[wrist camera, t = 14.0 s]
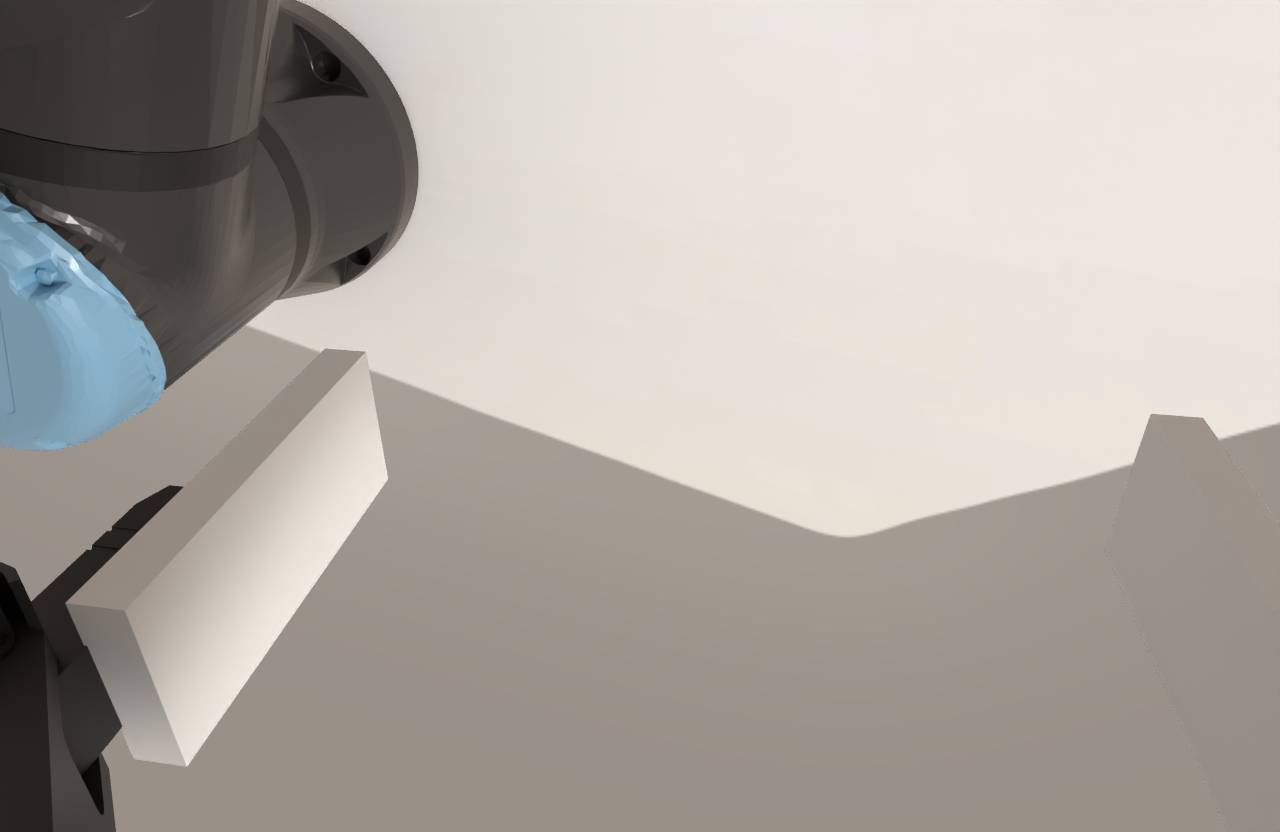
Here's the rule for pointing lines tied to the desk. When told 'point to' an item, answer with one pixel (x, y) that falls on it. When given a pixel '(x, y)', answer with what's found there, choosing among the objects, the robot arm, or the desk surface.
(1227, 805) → the robot arm
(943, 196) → the desk surface
